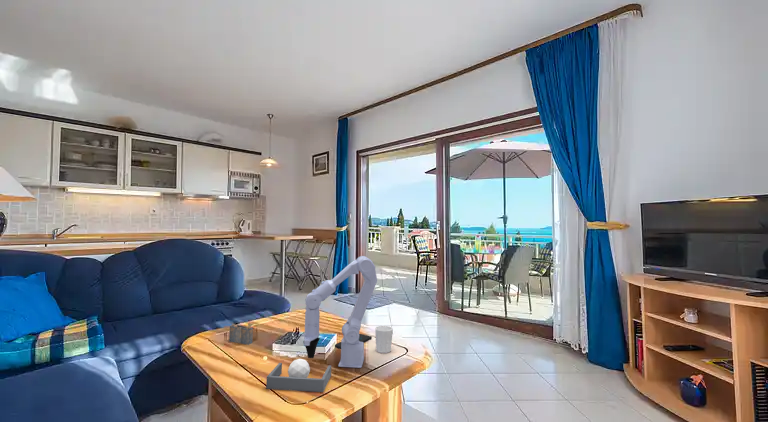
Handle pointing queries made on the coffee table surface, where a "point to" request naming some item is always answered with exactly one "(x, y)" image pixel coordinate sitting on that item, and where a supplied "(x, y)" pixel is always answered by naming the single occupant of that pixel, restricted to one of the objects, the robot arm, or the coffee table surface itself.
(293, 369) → the geometric ball
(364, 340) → the smart home device
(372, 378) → the coffee table surface
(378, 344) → the white cup
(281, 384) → the box
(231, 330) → the ruin model on sheet
